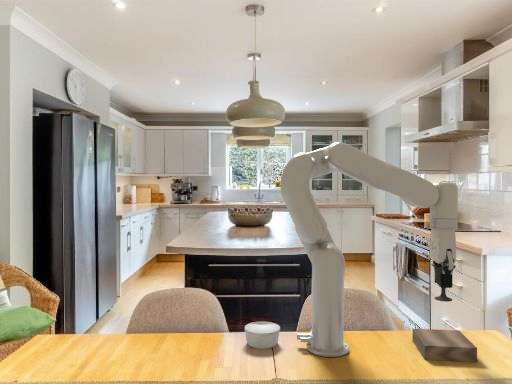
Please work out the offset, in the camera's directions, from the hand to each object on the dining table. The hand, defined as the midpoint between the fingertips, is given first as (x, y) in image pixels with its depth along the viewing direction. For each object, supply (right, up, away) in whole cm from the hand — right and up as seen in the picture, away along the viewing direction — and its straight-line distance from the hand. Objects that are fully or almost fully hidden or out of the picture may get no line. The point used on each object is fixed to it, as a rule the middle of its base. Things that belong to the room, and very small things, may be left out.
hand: (443, 284), depth 123 cm
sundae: (0, -5, 0) cm, 5 cm away
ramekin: (-54, -20, +6) cm, 58 cm away
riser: (0, -20, 0) cm, 20 cm away
